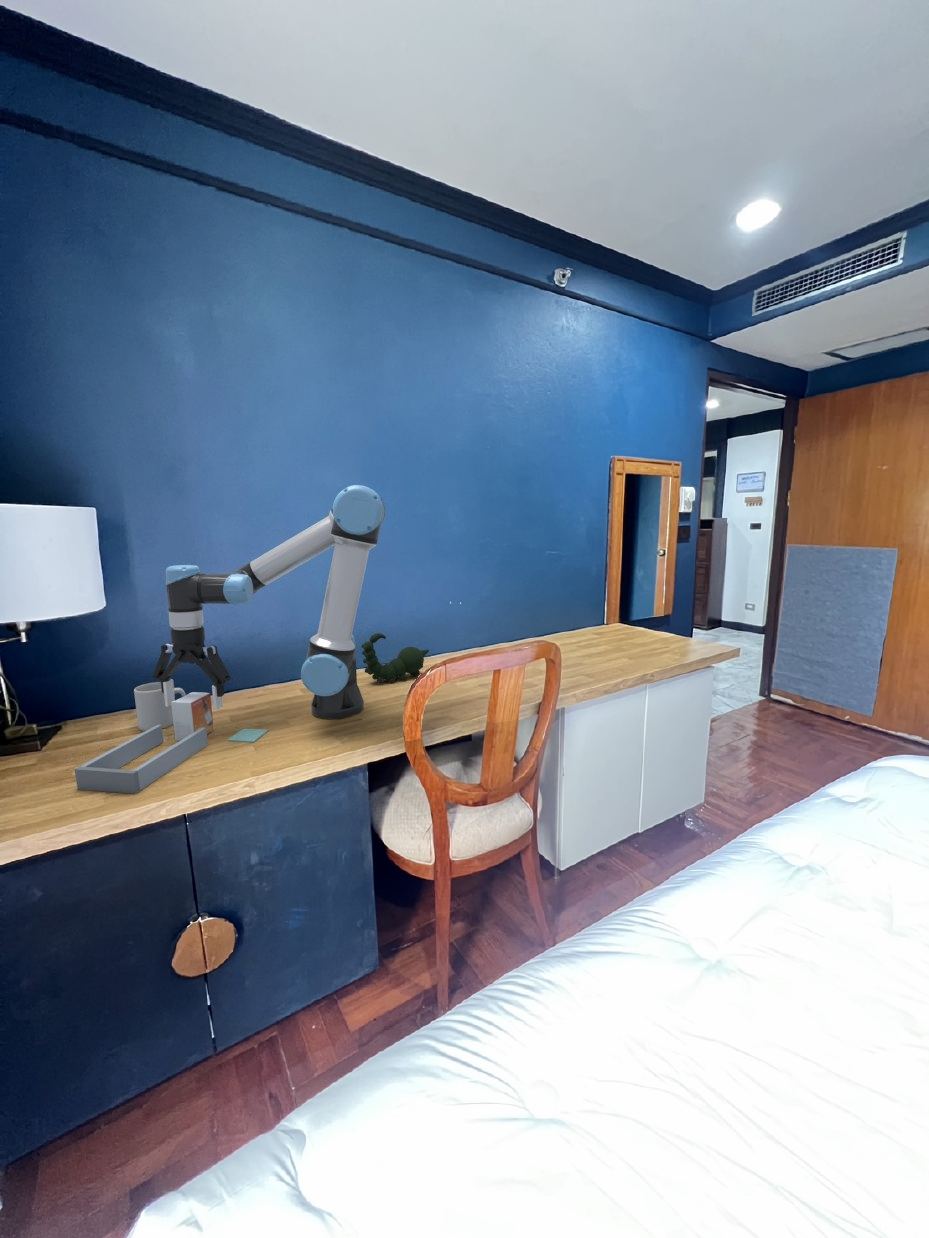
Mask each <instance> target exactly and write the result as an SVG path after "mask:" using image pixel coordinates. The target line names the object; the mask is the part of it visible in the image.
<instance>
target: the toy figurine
mask: <svg viewBox="0 0 929 1238" xmlns="http://www.w3.org/2000/svg"><path fill="white" fill-rule="evenodd" d="M380 639H382V640H383V639H384V640H386V639H387V637H386V635H384V634H383V633H379V632H377V633H374V634H372V635H371V636H370V638H369V640H368V641H364V642H363V644H362V645H361V648H362V649H363V650H362V652H361V654H362V655H363V656H364V658H365V659H362V662H363V664H366V666H367V667H366V668H364V673H365V674H368V675H369V676H371V675H372V679H373V680H375V681H377V682H378V683H382V682H383V681H385V682H386V681H387V682H389V684H393V683H395V679H396V678H399V679H400V680H401V681H404V680H406V679H407V674H409V675H410V676H411V675H412V677H413V676H415V677H418V675H419V676H420V673H421V672H420V671H421V669H423V667H424V662H425V656H426V655H427V654H428V653H429V651H430V649H421V650H420V649H419V648H418V647H415V646H407V647H404V648H402V649H401V650H400V651H399V653H398V654H397V657H395V658H394V659H391V660H390V661H389V662H388V663H384V664H382V663H380V661H379V657H378V656H377V655H376V649H375V648H374V644H375V643H377V642H378V640H380ZM415 677H414V678H415Z"/></svg>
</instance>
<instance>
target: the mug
mask: <svg viewBox="0 0 929 1238" xmlns="http://www.w3.org/2000/svg"><path fill="white" fill-rule="evenodd" d="M133 693H134V694H133V695H134V700H135V701H134V702H135V709H136V716H137V717H136V718H137V725H138V730H140V731H142V732H145V731H147V730H149V729H150V728H152V727H154V726H156V725H162V730H163V729H166V728H168V727H171V726H172V725H174V724H173V715H172V706H171V705H170V706H168V707H166V706H165V698H164V693H162V690H161V682H160V681H155V682H149V683H145V684H141V685H138V686H136V687H135V688H134V690H133ZM175 694H176V695H177V694H179V695H181V698H182V697H184V696H186V695H187V694H186V692H185V690H184V689H183V688H182V687H174V695H175Z"/></svg>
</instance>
